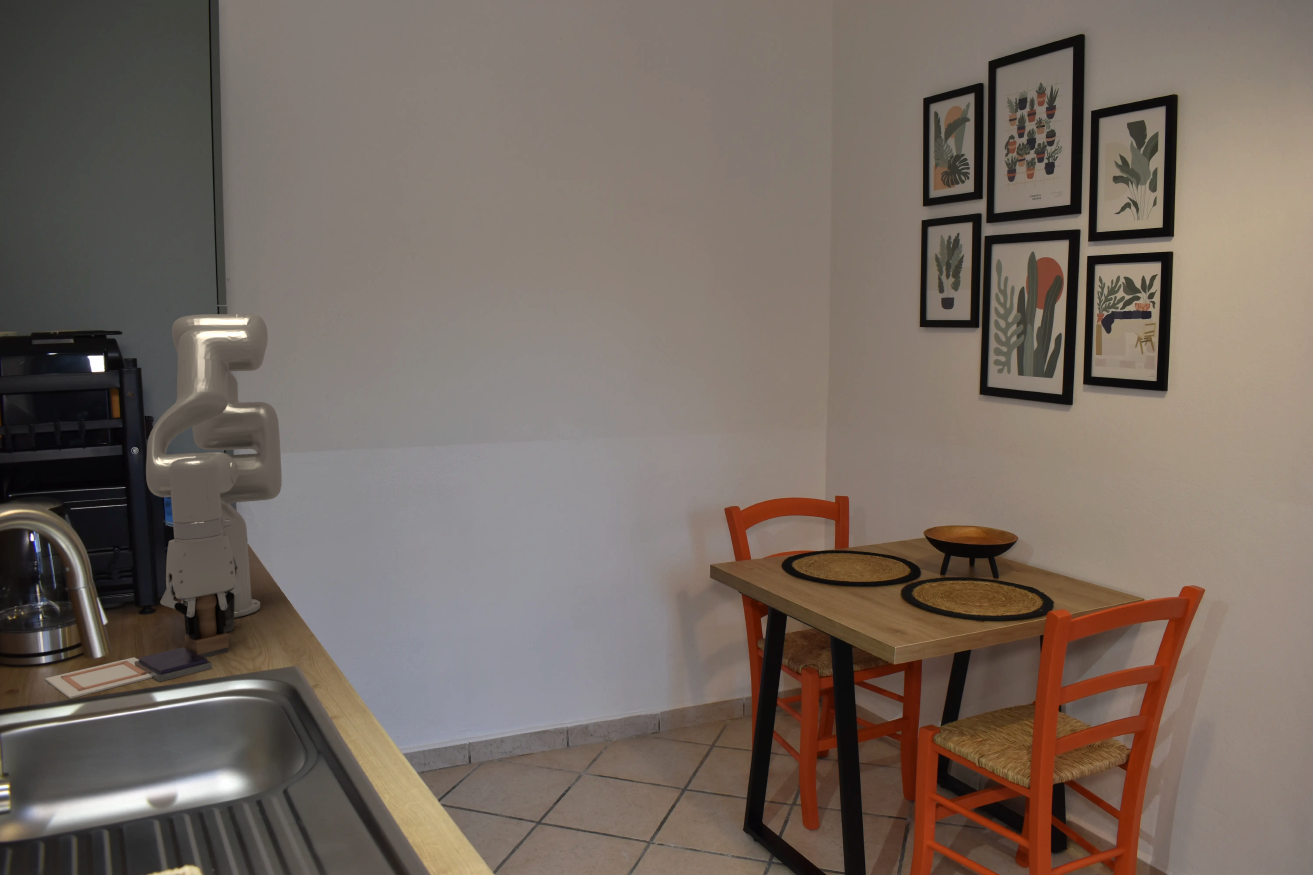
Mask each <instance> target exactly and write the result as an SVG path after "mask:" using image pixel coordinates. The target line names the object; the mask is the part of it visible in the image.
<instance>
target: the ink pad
mask: <svg viewBox="0 0 1313 875" xmlns="http://www.w3.org/2000/svg"><path fill="white" fill-rule="evenodd" d="M138 660H139V661H135V666H136V667H138V668H140V669H141V670H143V671H145V672H147V673H148V674H150V675H152V677H153V678H152V679H154V680H155V681H157V682H159V683H161V682H164V681H168V680H172V679H177V678H181V677H183V676H188V675H191V674H196V673H199V672H202V671H203V672H204V671H208V670H210V669H211V670H212V669H213V664H212V662H211V661H210V660H208V659H207V657H206V658H204V657H202V656H200V655H198V654H196V653H194V652H192V651H190V650H188V649H186V647H183V646H182V647H179V648H174V649H169V650H166V651H162V652H161V651H160V652H158V653H153V654H149V655H145V656H141V657H140V656H139V657H138Z"/></svg>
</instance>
